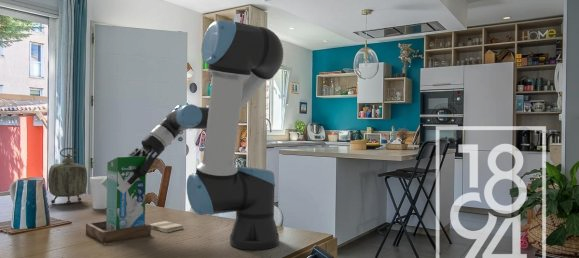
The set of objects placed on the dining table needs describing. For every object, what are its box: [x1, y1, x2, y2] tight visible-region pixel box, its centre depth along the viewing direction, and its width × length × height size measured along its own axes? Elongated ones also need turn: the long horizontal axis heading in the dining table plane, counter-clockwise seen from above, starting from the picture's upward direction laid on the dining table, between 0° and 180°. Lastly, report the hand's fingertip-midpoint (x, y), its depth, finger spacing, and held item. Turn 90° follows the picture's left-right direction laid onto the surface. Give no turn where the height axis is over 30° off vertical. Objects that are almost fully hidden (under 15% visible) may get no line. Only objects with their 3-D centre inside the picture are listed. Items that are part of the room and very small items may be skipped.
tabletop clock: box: [47, 147, 88, 205], centre depth 181 cm, size 14×9×25 cm, turn 130°
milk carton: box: [105, 154, 147, 231], centre depth 130 cm, size 9×9×25 cm
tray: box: [85, 220, 152, 245], centre depth 130 cm, size 15×15×3 cm
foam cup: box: [89, 175, 107, 210], centre depth 173 cm, size 10×9×13 cm
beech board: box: [149, 220, 184, 233], centre depth 140 cm, size 10×7×1 cm
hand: (111, 188), depth 129 cm, fingers open, 13 cm apart
